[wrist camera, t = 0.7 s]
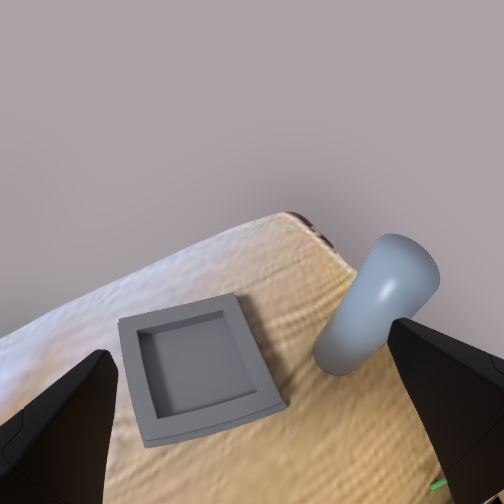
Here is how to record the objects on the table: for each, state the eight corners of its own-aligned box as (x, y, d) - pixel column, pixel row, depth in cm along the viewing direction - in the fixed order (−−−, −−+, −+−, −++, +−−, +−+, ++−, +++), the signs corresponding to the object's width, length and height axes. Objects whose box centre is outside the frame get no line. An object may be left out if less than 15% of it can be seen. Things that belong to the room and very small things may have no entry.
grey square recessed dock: (285, 408, 20) (291, 404, 18) (146, 448, 16) (140, 447, 14) (235, 298, 27) (236, 286, 26) (119, 325, 23) (113, 315, 22)
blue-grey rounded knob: (368, 362, 23) (451, 281, 14) (327, 384, 21) (409, 308, 12) (345, 322, 26) (407, 228, 17) (304, 339, 24) (358, 241, 15)
